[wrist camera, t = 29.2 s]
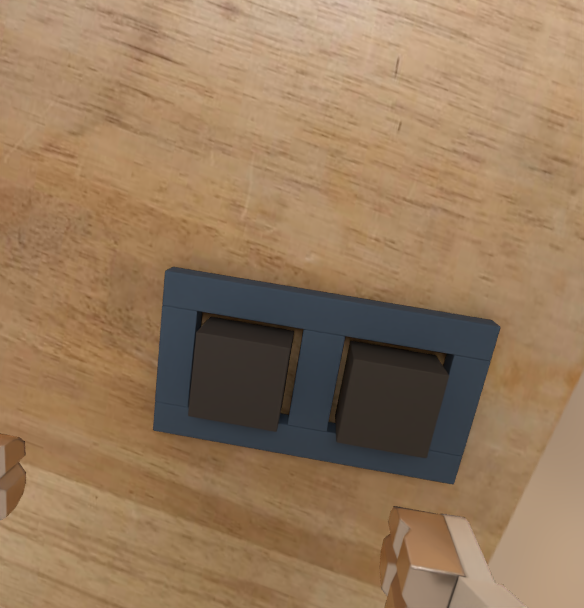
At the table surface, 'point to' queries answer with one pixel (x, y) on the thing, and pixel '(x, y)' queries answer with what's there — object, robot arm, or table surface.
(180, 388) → the dark grey flat frame
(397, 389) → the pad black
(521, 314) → the table surface
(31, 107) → the table surface
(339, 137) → the table surface
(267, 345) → the dark brown square block
